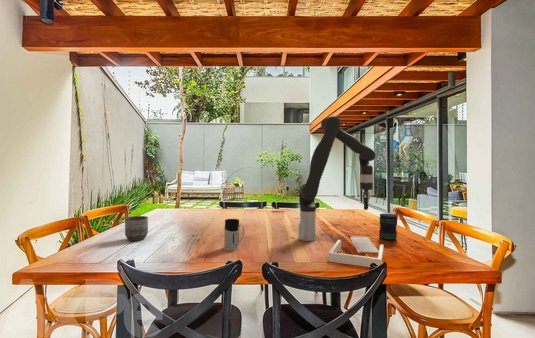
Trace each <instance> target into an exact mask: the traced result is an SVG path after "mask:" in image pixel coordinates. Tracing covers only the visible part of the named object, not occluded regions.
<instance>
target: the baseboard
mask: <svg viewBox="0 0 535 338" xmlns="http://www.w3.org/2000/svg"><path fill="white" fill-rule="evenodd" d="M350 236H351V237H350ZM348 238H349V239H350V241H351V240H352V241H351V242H352V244H353V246H354V248H355V250H356V251H357V253H358V254H368V253H376V254H375V255H379V250H378V248H377V247H376V246H375V245H374V243H373V242H372V241H371V239H370V238H369V237H368V236H363V235H361V234H357V235H348Z"/></svg>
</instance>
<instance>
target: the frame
mask: <svg viewBox="0 0 535 338" xmlns="http://www.w3.org/2000/svg"><path fill="white" fill-rule="evenodd" d="M341 247H342V239H337V241H336V242H335V243H334V244H333V246H332V247H331V249H330V250H329V251H328V260H327V261H328V262H332V263H337V264H346V265H353V266H359V267H367V268H371V267H370V264H371V263H375V264H376V265H379V264H381V263H382V264H383V259H382V258H383V257H384V244H380V245H379V250H378V251H379V254H377V255H378V256H377V257H371V256H364V255H356V254H355V255H354V254H348V253H341V252H339V251H340V250H341ZM339 249H340V250H339ZM337 252H338V253H337Z"/></svg>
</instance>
